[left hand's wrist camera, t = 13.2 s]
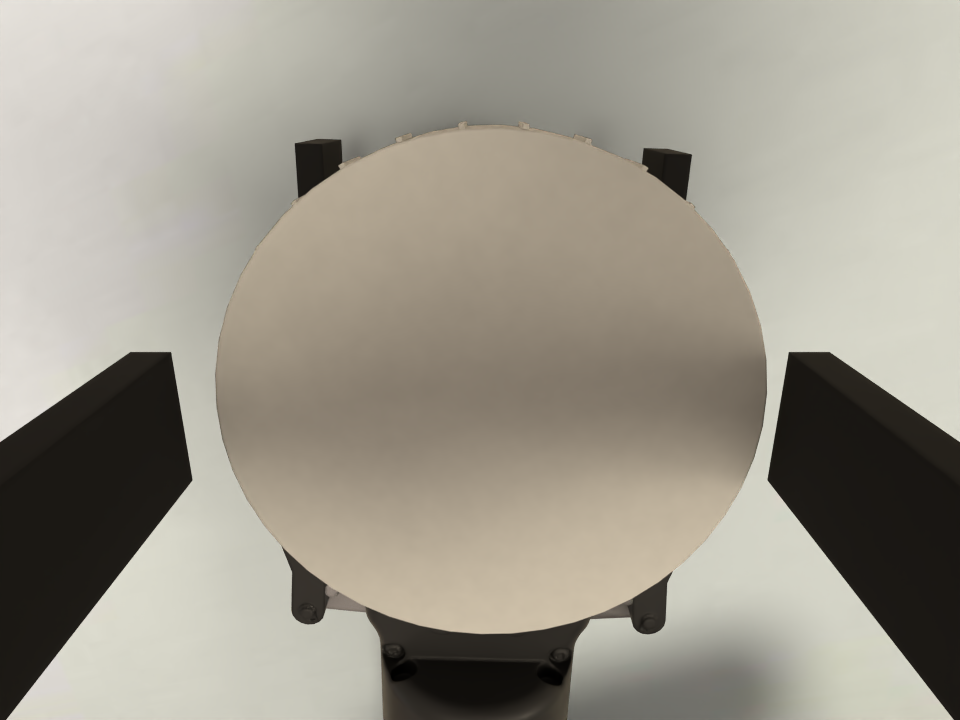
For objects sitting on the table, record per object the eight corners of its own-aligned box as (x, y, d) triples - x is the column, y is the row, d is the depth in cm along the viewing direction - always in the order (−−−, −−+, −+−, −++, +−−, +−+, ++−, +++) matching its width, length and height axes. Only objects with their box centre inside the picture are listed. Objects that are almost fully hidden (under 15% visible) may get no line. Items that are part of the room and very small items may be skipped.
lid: (149, 320, 14) (91, 357, 12) (558, 0, 12) (574, -22, 10) (440, 636, 17) (434, 709, 15) (814, 423, 15) (867, 474, 13)
